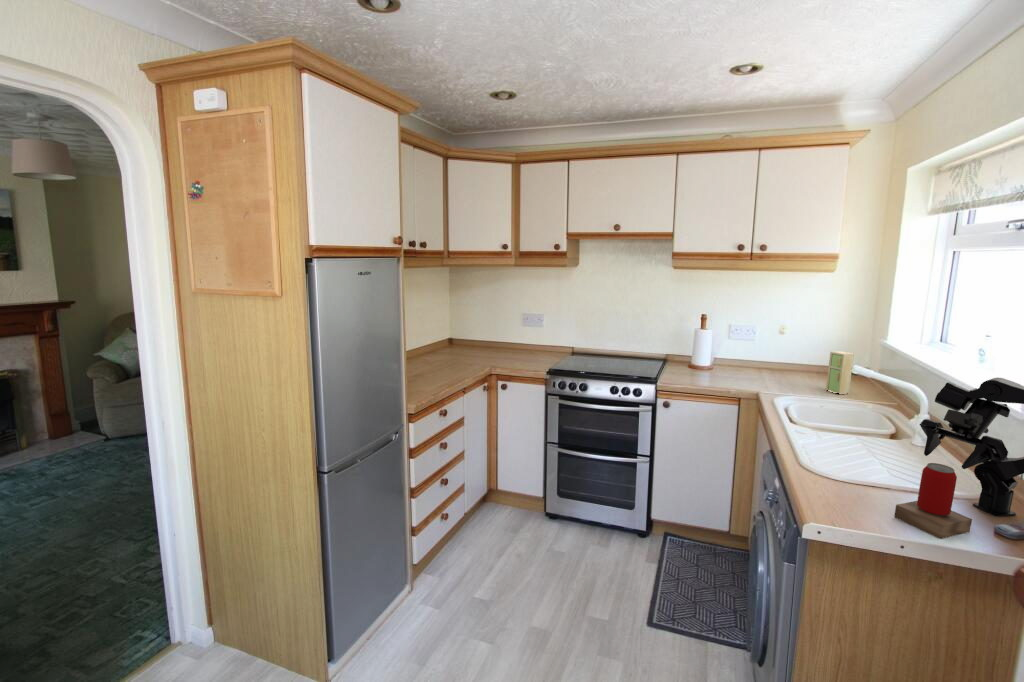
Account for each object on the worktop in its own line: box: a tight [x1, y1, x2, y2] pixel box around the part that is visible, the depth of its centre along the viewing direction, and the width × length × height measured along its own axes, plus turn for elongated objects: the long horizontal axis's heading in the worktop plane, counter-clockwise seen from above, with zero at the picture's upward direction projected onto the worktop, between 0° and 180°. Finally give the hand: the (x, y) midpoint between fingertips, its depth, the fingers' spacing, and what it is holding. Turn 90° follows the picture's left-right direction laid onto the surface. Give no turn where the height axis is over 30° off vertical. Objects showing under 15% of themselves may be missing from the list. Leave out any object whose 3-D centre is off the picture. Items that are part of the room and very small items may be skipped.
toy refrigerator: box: [825, 350, 855, 393], centre depth 261 cm, size 8×7×21 cm
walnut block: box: [893, 500, 973, 540], centre depth 132 cm, size 11×11×4 cm
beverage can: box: [916, 462, 958, 516], centre depth 131 cm, size 7×7×12 cm
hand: (943, 461), depth 139 cm, fingers open, 9 cm apart
